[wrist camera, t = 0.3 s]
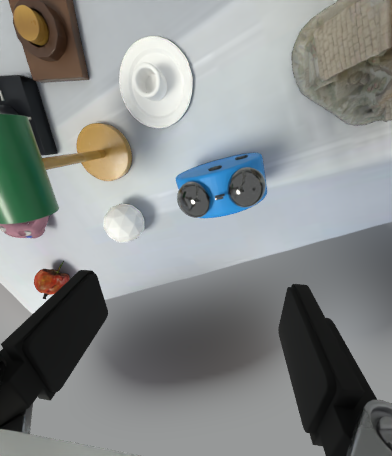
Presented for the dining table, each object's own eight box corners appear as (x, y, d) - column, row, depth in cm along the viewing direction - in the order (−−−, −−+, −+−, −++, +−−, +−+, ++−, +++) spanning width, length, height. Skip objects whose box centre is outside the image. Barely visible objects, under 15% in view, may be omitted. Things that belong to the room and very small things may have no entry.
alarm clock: (192, 198, 39) (175, 232, 26) (183, 167, 37) (159, 187, 24) (260, 182, 36) (280, 211, 23) (255, 147, 34) (273, 157, 21)
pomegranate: (55, 254, 54) (33, 288, 52) (43, 256, 47) (17, 295, 45) (81, 266, 56) (61, 299, 54) (73, 270, 49) (49, 308, 47)
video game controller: (21, 214, 49) (-1, 236, 45) (7, 200, 45) (-18, 224, 41) (58, 220, 48) (39, 244, 44) (47, 207, 44) (26, 232, 40)
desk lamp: (75, 124, 36) (-101, 115, 17) (127, 122, 35) (1, 110, 15) (89, 179, 41) (-38, 222, 21) (135, 179, 39) (45, 226, 20)
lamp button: (21, 13, 28) (8, 6, 26) (43, 10, 27) (32, 3, 26) (30, 46, 29) (20, 41, 28) (52, 44, 29) (42, 39, 27)
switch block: (14, -8, 29) (-11, -25, 26) (69, -15, 28) (50, -33, 25) (41, 82, 34) (22, 77, 31) (89, 79, 33) (75, 74, 30)
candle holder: (204, 56, 30) (200, 45, 26) (179, 138, 35) (174, 139, 31) (128, 24, 29) (113, 8, 25) (116, 112, 35) (102, 110, 31)
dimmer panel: (-10, 82, 35) (-30, 78, 32) (35, 79, 34) (18, 74, 31) (18, 153, 40) (2, 155, 38) (57, 153, 39) (44, 155, 36)
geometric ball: (135, 219, 46) (108, 242, 43) (119, 191, 41) (87, 215, 37) (157, 229, 43) (130, 256, 39) (143, 200, 37) (110, 228, 33)
